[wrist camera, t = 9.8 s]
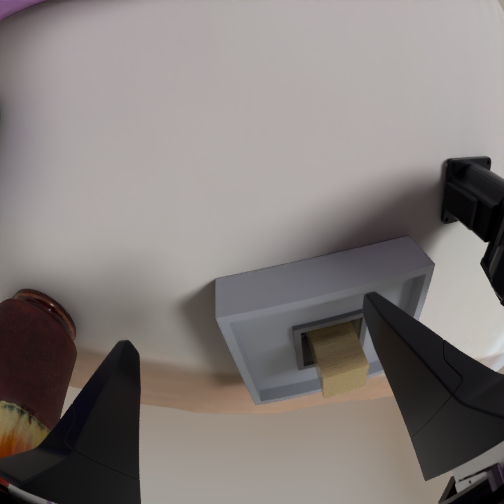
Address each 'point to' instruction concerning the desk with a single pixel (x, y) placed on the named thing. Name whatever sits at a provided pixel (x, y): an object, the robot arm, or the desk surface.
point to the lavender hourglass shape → (15, 6)
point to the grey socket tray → (312, 311)
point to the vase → (32, 369)
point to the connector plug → (338, 358)
